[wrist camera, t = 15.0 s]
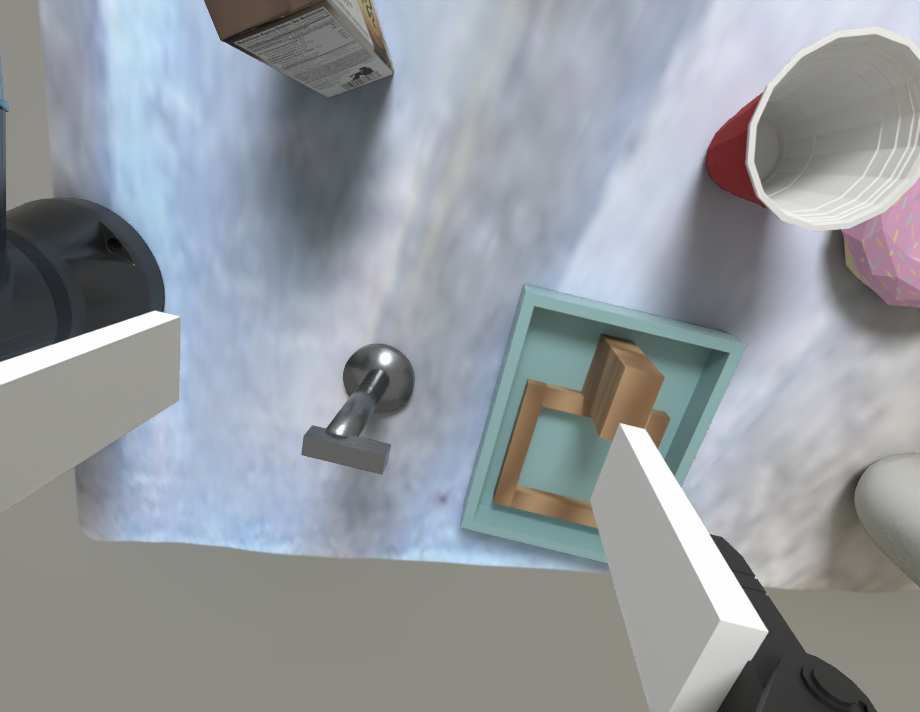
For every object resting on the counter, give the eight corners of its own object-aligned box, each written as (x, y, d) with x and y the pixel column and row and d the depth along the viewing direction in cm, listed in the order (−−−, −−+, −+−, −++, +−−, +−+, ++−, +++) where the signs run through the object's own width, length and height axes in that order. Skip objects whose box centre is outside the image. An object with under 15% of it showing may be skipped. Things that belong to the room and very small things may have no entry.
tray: (463, 504, 51) (460, 527, 48) (523, 283, 43) (525, 291, 39) (632, 545, 51) (642, 571, 47) (726, 332, 43) (746, 344, 39)
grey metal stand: (341, 399, 48) (277, 480, 35) (351, 336, 46) (286, 397, 32) (412, 416, 48) (376, 505, 34) (425, 354, 46) (392, 422, 32)
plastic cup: (842, 162, 37) (989, 148, 26) (718, 248, 40) (801, 268, 29) (776, 42, 35) (906, -30, 24) (650, 141, 38) (711, 119, 27)
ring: (493, 493, 50) (491, 555, 41) (545, 319, 43) (555, 350, 34) (618, 524, 49) (642, 592, 41) (689, 354, 43) (735, 394, 34)
